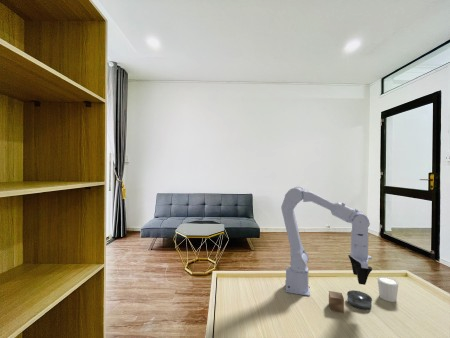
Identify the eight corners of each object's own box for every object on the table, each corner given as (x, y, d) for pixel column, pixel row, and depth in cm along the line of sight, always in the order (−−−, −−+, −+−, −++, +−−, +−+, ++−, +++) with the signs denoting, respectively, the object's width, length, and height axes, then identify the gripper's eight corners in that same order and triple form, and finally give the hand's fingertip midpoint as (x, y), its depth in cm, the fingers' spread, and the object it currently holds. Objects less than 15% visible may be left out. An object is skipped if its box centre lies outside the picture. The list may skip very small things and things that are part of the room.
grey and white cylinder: (402, 303, 87) (402, 285, 87) (382, 301, 88) (382, 283, 88) (392, 294, 94) (392, 277, 94) (374, 292, 95) (374, 275, 95)
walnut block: (330, 310, 83) (330, 297, 83) (328, 303, 87) (328, 290, 87) (343, 313, 81) (343, 299, 81) (341, 305, 86) (341, 292, 86)
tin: (349, 308, 84) (349, 300, 84) (345, 296, 92) (345, 288, 92) (375, 312, 82) (375, 304, 82) (368, 299, 90) (368, 292, 90)
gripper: (378, 251, 78) (377, 290, 79) (365, 239, 92) (365, 272, 92) (355, 249, 81) (354, 287, 81) (346, 237, 94) (346, 269, 94)
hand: (359, 279), depth 87 cm, fingers open, 7 cm apart
